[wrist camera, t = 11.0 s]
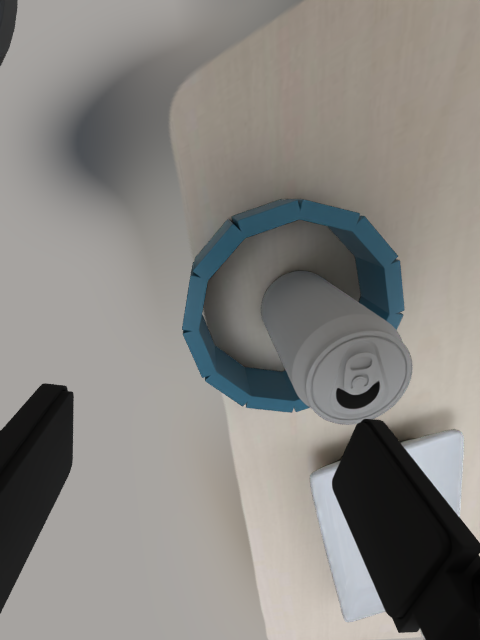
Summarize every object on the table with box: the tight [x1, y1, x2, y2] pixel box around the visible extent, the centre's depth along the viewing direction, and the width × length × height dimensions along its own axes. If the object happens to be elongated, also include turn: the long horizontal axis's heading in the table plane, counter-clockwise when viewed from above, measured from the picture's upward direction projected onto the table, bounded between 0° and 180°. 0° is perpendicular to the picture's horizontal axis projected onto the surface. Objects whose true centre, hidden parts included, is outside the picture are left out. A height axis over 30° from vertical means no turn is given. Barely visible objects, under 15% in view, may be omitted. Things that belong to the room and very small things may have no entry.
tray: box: [310, 429, 464, 622], centre depth 37 cm, size 17×31×4 cm, turn 15°
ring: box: [182, 199, 405, 413], centre depth 24 cm, size 17×17×4 cm
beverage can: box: [261, 271, 412, 425], centre depth 20 cm, size 6×6×12 cm
